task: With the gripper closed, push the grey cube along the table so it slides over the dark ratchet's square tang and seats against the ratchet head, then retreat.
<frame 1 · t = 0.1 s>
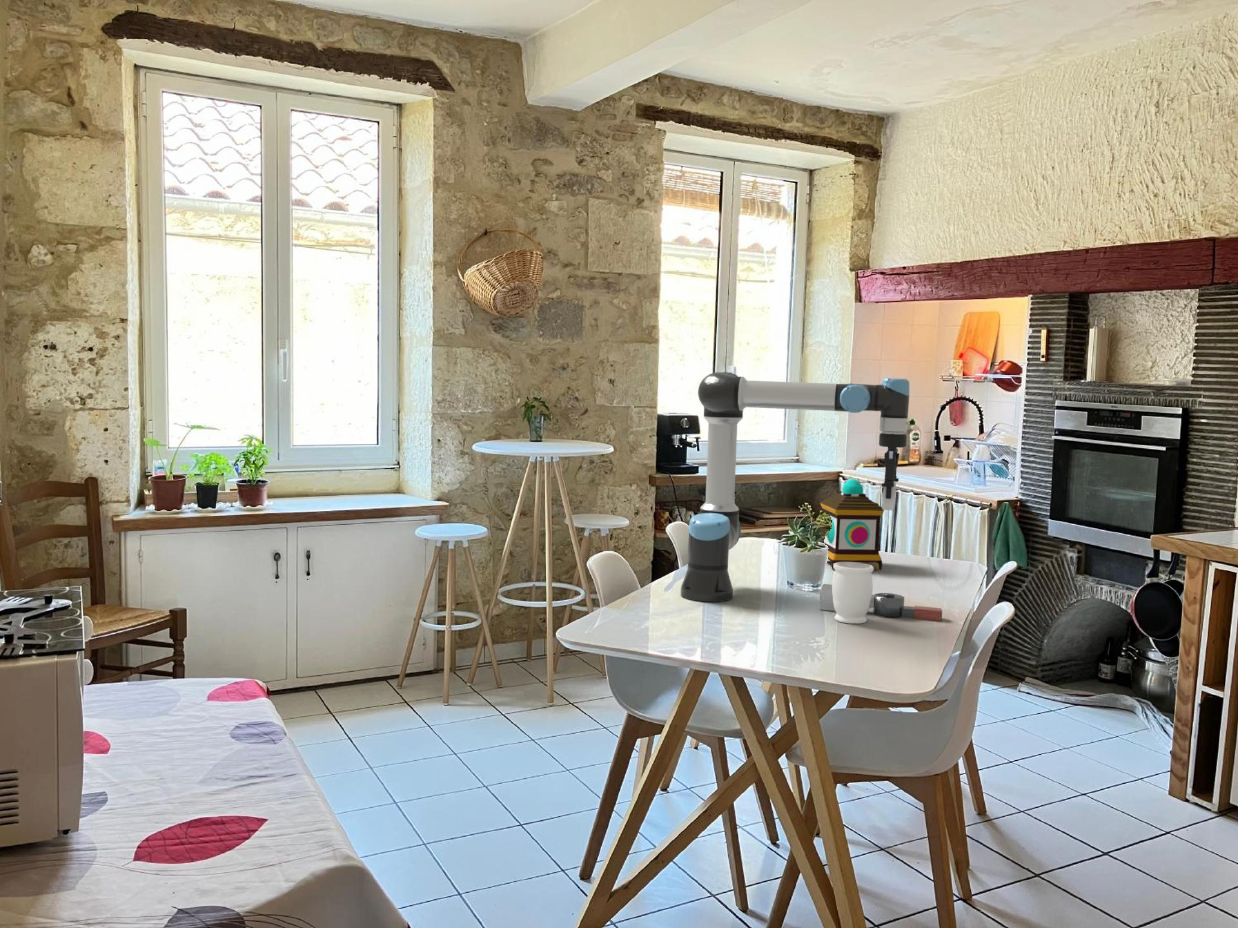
hand: (888, 507, 282), 28 cm above the table, fingers open, 13 cm apart
jar: (850, 621, 263), on the table
decorative lantern: (848, 566, 339), on the table
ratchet: (888, 614, 271), on the table
grey cube: (832, 597, 276), point 3 cm above the table, slide at 0.0 cm
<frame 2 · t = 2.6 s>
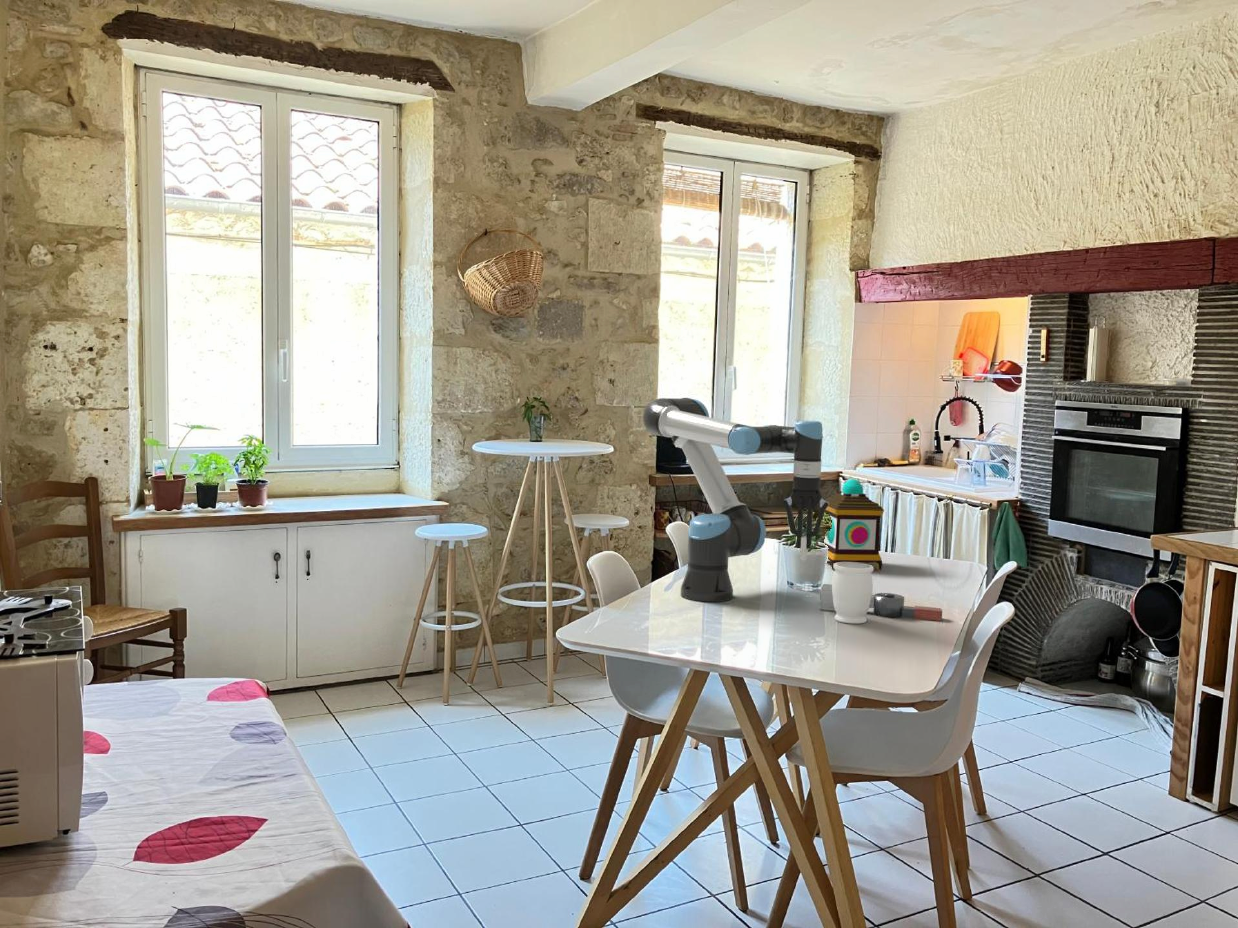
hand: (803, 559, 277), 13 cm above the table, fingers closed
nothing on the table moved.
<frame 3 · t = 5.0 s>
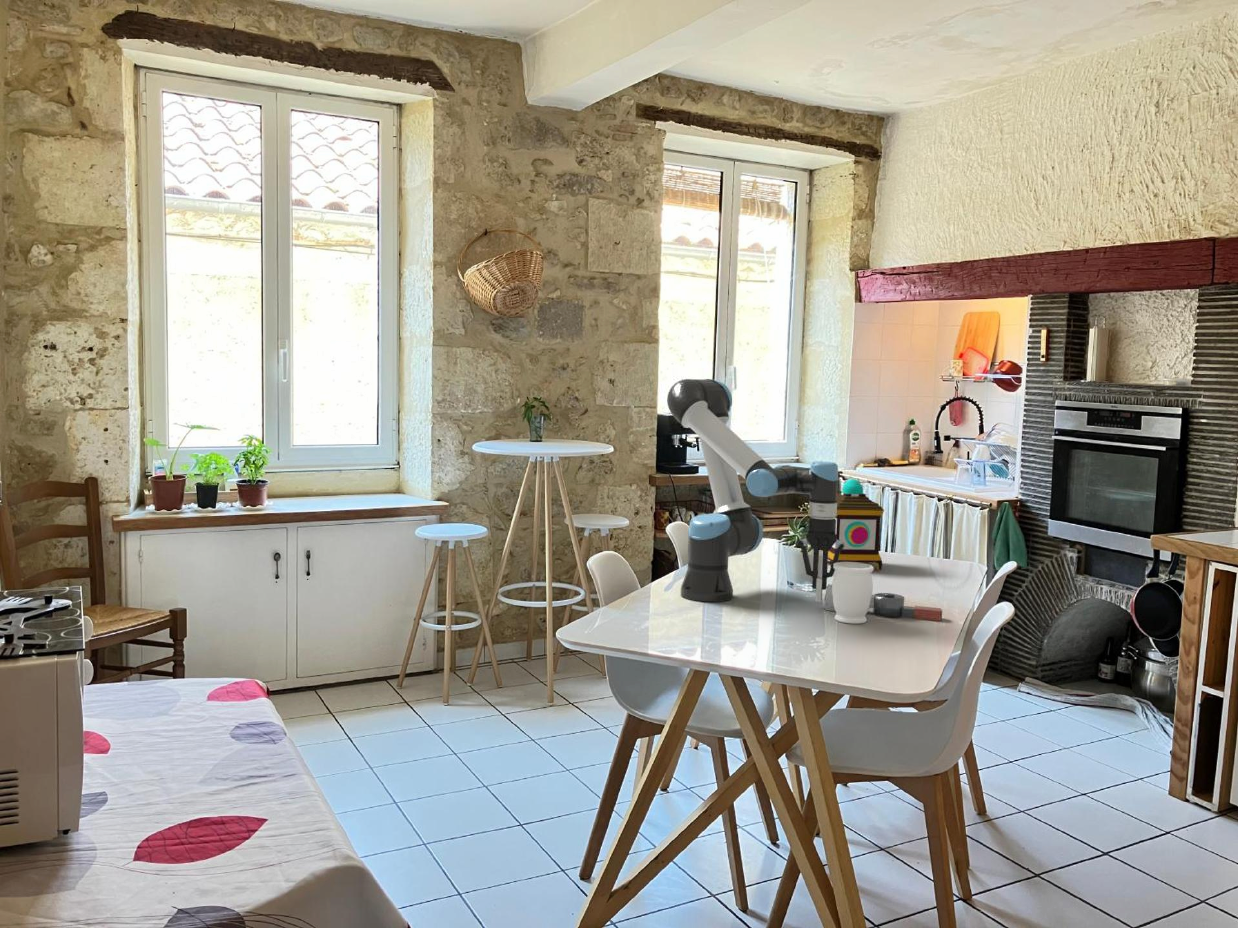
hand: (818, 600, 277), 2 cm above the table, fingers closed
grey cube: (836, 597, 275), point 3 cm above the table, slide at 1.3 cm, touching gripper
everything else where it was.
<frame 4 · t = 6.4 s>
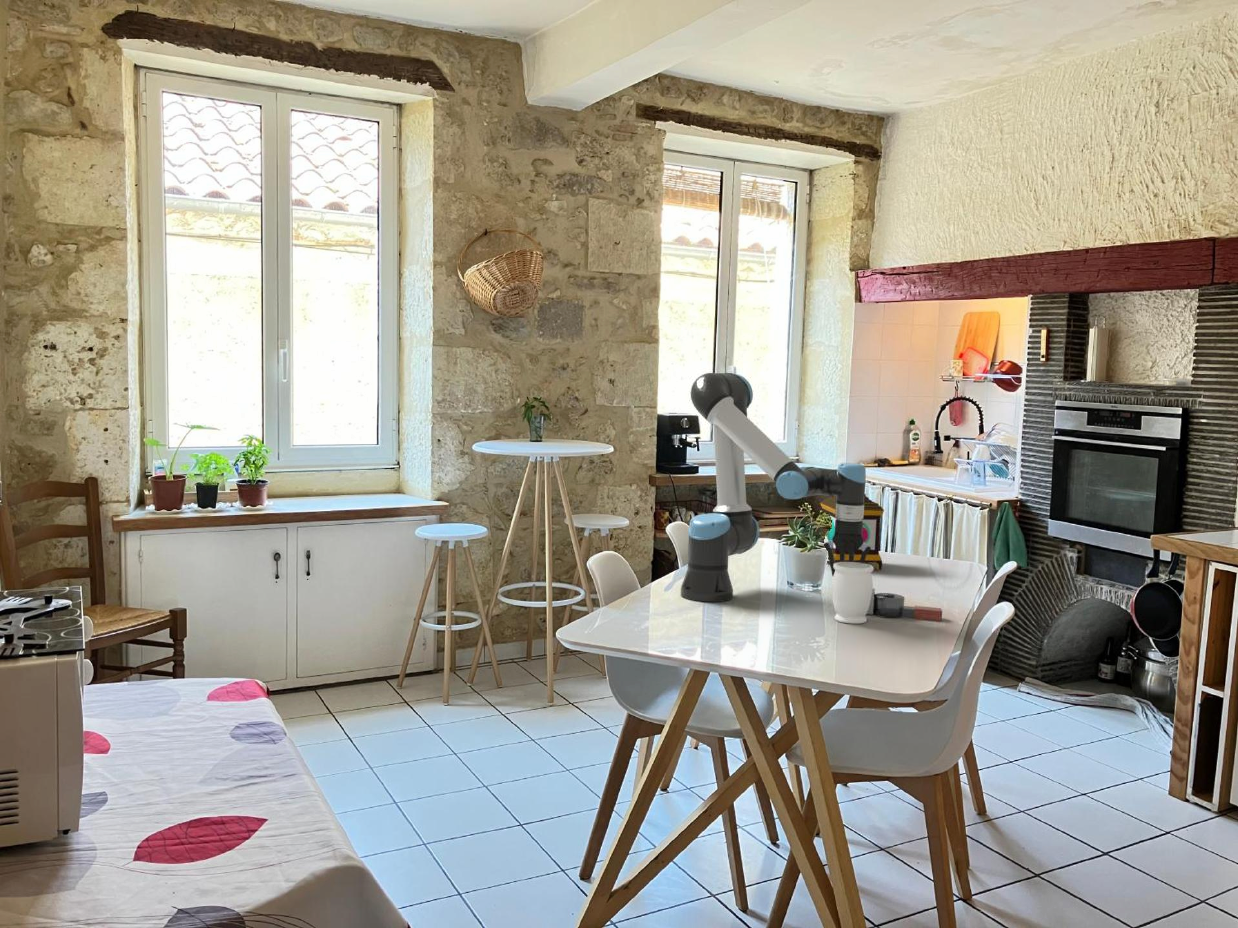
hand: (844, 603, 274), 2 cm above the table, fingers closed
grey cube: (862, 600, 273), point 3 cm above the table, slide at 8.2 cm, touching gripper, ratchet
everything else where it was.
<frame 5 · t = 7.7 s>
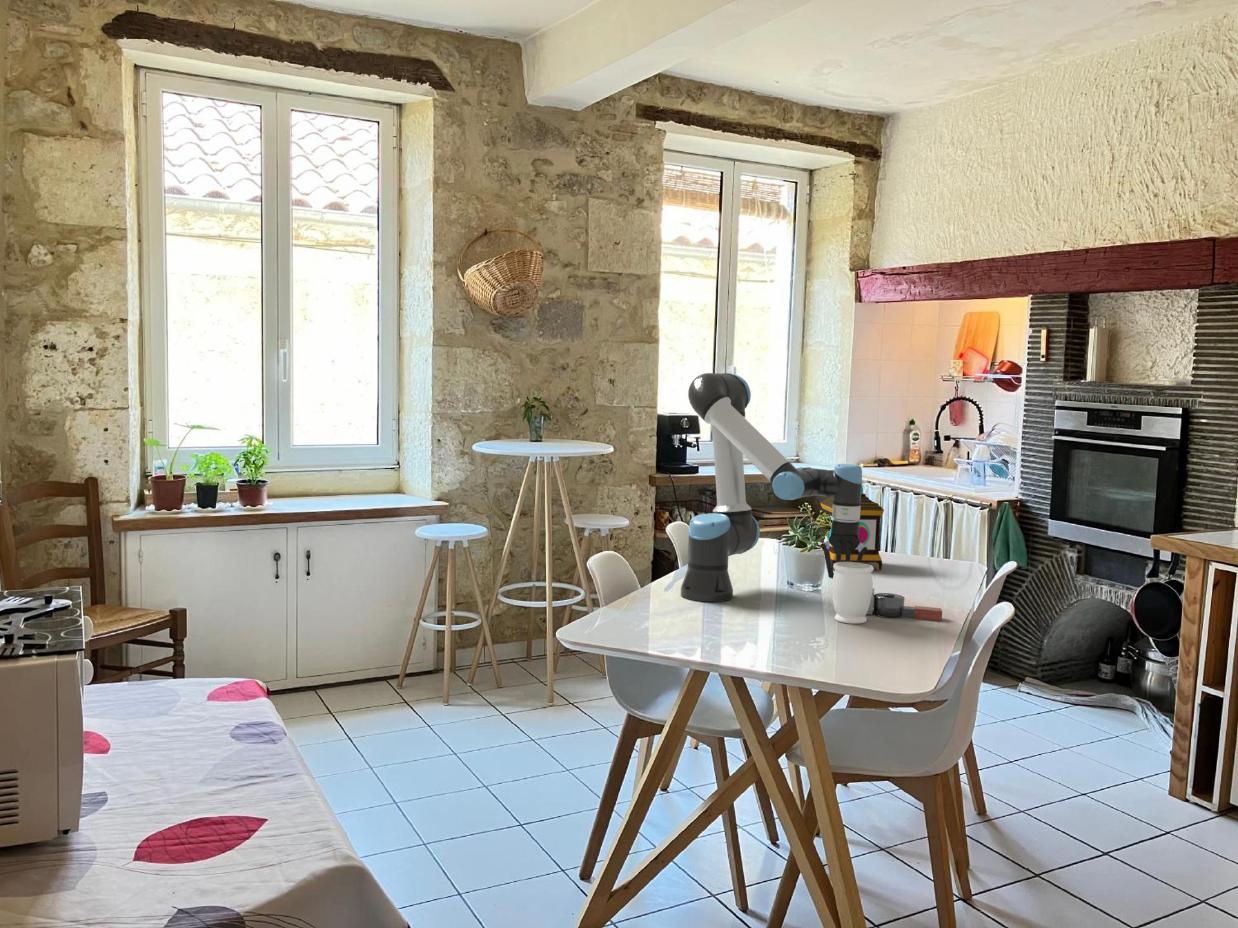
hand: (840, 603, 275), 2 cm above the table, fingers closed
grey cube: (861, 600, 273), point 3 cm above the table, slide at 8.0 cm
everything else where it was.
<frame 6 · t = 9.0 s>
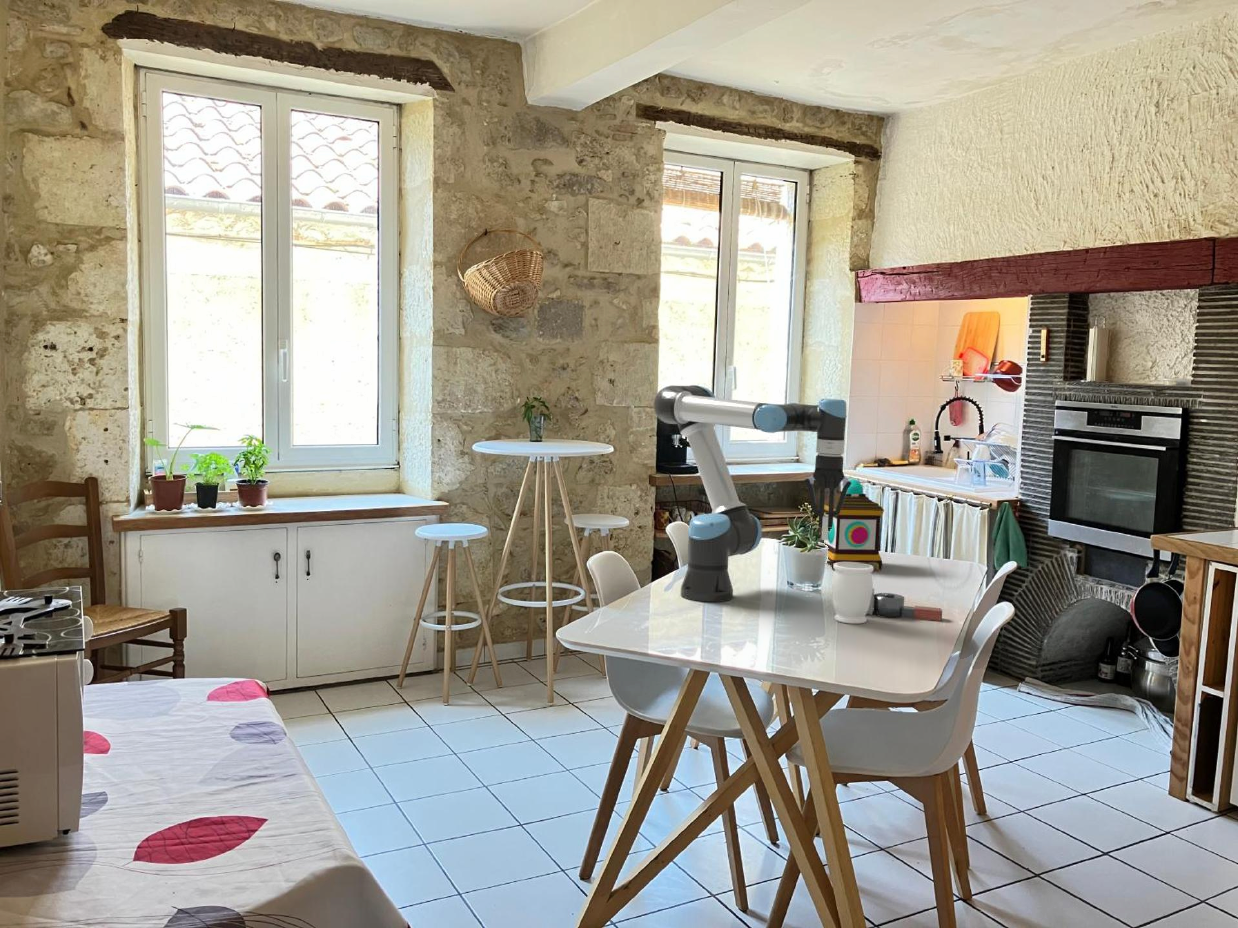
hand: (824, 538, 275), 19 cm above the table, fingers closed
nothing on the table moved.
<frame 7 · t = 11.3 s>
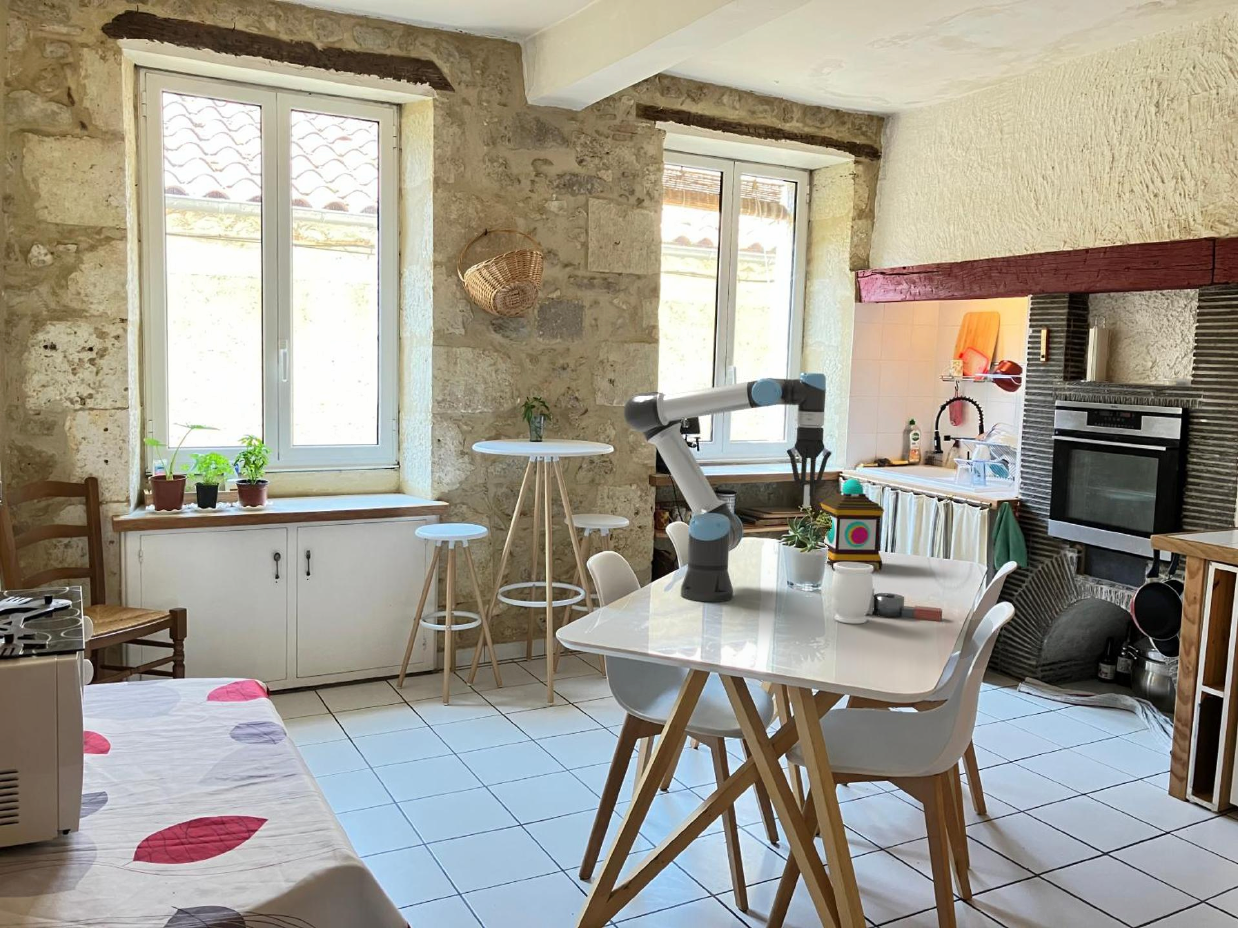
hand: (806, 507, 288), 26 cm above the table, fingers closed
nothing on the table moved.
at the end: grey cube slide at 8.0 cm; the gripper is holding nothing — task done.
